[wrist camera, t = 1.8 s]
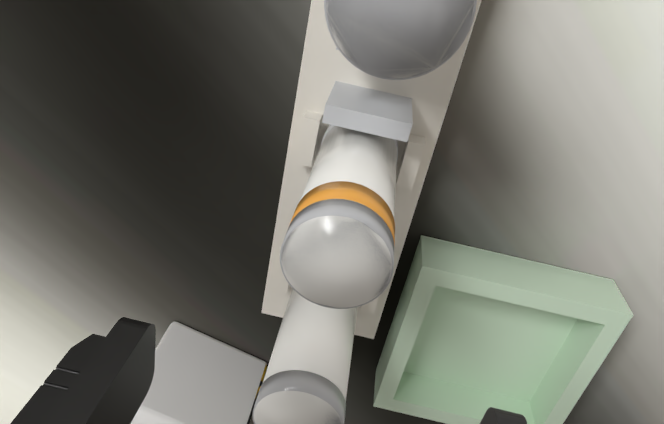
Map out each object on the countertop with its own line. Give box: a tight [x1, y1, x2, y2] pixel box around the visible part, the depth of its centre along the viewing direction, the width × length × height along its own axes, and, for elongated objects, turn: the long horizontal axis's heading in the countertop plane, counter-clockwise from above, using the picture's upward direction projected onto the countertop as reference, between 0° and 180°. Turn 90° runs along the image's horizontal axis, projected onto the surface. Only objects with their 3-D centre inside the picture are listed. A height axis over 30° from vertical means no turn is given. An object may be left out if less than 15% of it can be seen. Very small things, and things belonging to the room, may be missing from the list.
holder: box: [261, 0, 482, 339], centre depth 24 cm, size 7×24×5 cm, turn 169°
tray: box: [373, 235, 633, 424], centre depth 30 cm, size 11×11×3 cm
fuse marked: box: [280, 125, 398, 309], centre depth 21 cm, size 4×4×10 cm
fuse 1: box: [252, 288, 358, 424], centre depth 25 cm, size 4×4×10 cm
